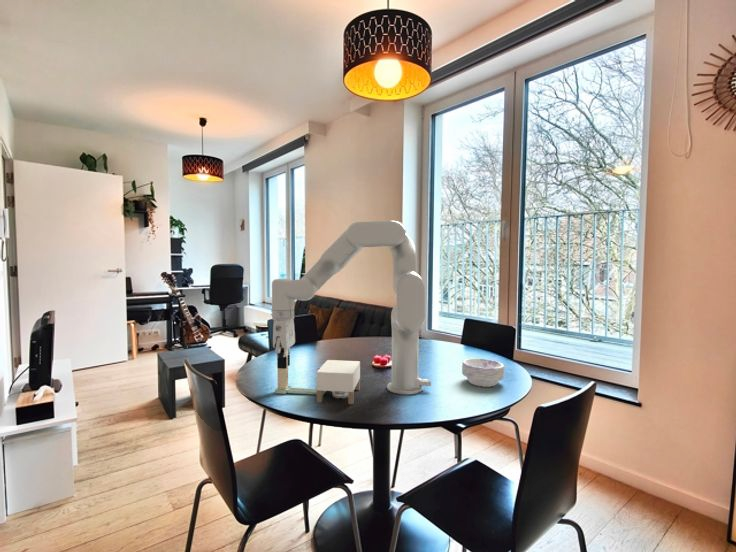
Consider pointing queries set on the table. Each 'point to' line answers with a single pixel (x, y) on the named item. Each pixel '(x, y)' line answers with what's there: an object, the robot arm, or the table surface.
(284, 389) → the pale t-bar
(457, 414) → the table surface
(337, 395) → the silver dome
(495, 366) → the paper bowls
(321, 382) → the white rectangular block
